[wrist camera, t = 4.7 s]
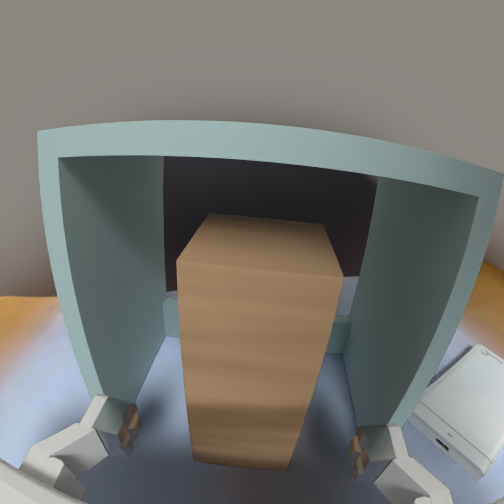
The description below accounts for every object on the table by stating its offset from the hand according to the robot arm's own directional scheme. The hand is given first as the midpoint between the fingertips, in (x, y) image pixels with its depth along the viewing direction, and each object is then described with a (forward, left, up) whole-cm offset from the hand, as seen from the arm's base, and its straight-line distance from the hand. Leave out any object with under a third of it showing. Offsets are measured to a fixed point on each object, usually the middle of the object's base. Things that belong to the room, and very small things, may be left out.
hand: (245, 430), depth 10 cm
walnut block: (-3, -3, -6) cm, 8 cm away
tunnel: (-6, -5, -6) cm, 10 cm away
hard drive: (-16, +9, -7) cm, 20 cm away
